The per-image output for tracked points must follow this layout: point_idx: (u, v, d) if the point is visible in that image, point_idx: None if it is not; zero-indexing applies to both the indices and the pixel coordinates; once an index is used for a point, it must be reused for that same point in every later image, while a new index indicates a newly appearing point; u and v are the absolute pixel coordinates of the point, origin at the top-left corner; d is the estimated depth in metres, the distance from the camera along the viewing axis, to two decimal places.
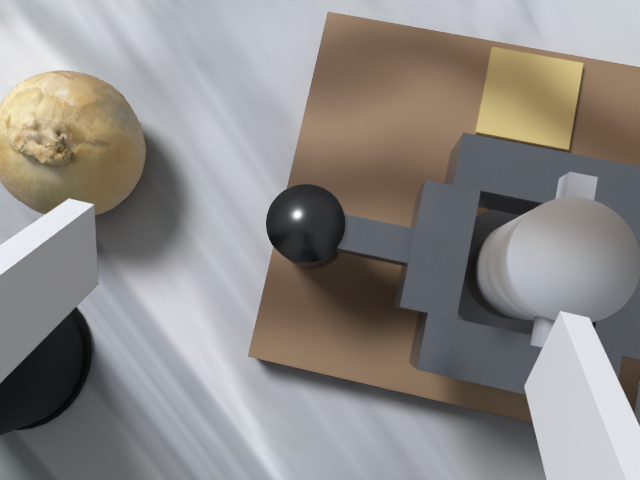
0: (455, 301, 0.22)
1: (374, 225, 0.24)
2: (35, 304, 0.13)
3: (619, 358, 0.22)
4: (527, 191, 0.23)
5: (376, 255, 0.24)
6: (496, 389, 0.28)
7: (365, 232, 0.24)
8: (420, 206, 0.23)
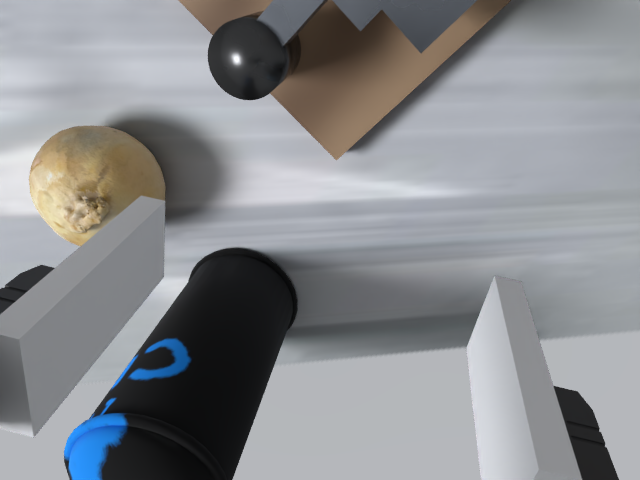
0: None
1: None
2: (119, 294, 0.14)
3: None
4: None
5: (308, 15, 0.23)
6: None
7: (283, 11, 0.23)
8: None
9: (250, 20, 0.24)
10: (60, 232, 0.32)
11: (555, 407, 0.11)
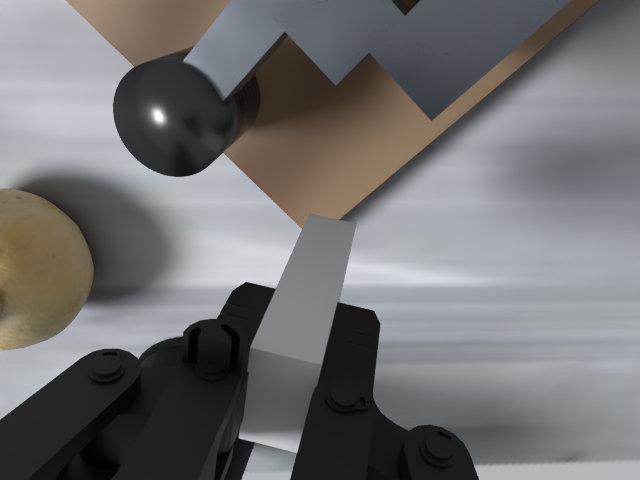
0: None
1: (217, 32, 0.15)
2: None
3: None
4: None
5: (259, 57, 0.15)
6: None
7: (221, 51, 0.15)
8: None
9: (171, 63, 0.16)
10: None
11: (329, 314, 0.12)
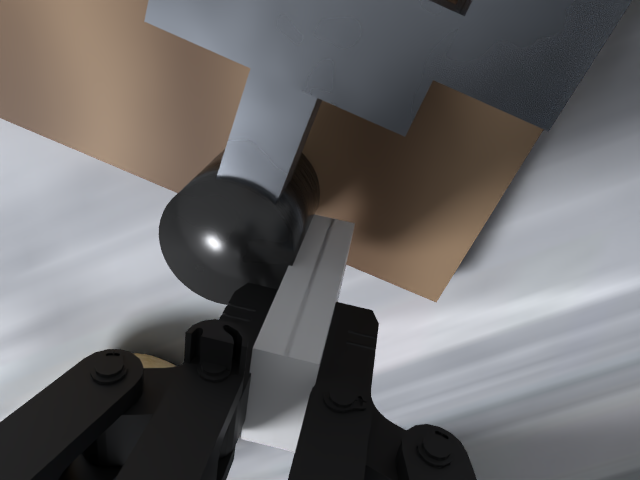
0: (423, 9, 0.10)
1: (242, 129, 0.12)
2: None
3: None
4: None
5: (299, 138, 0.12)
6: None
7: (254, 148, 0.13)
8: (202, 44, 0.11)
9: (206, 184, 0.13)
10: None
11: (327, 314, 0.12)
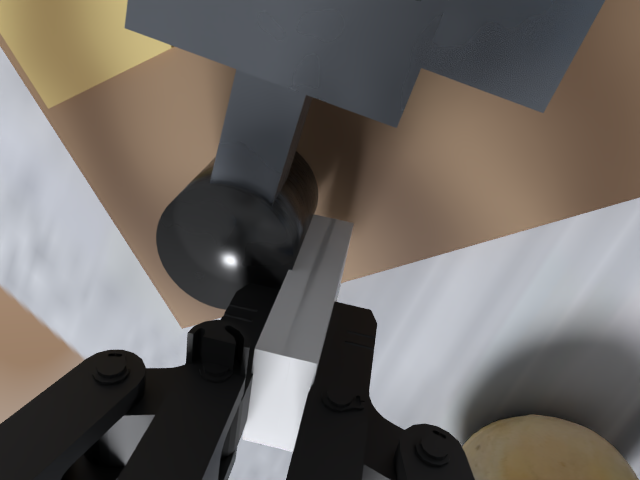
0: None
1: (232, 131, 0.12)
2: None
3: None
4: None
5: (290, 137, 0.12)
6: None
7: (245, 149, 0.12)
8: (184, 47, 0.10)
9: (199, 189, 0.13)
10: None
11: (326, 314, 0.12)
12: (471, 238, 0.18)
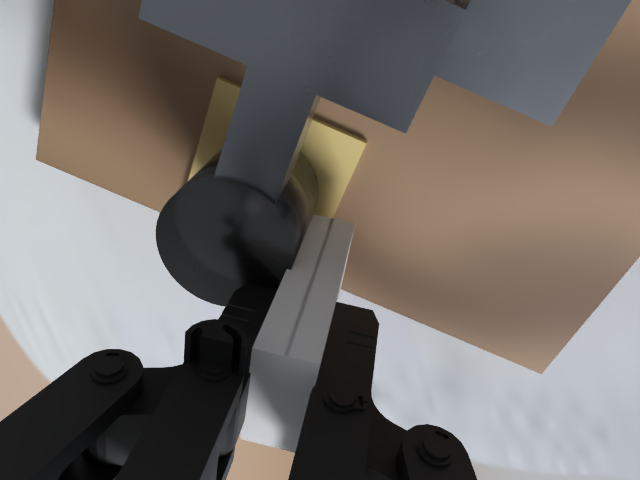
0: (424, 3, 0.09)
1: (239, 128, 0.12)
2: None
3: None
4: None
5: (298, 136, 0.12)
6: None
7: (252, 147, 0.12)
8: (198, 41, 0.10)
9: (203, 184, 0.13)
10: None
11: (328, 314, 0.12)
12: None
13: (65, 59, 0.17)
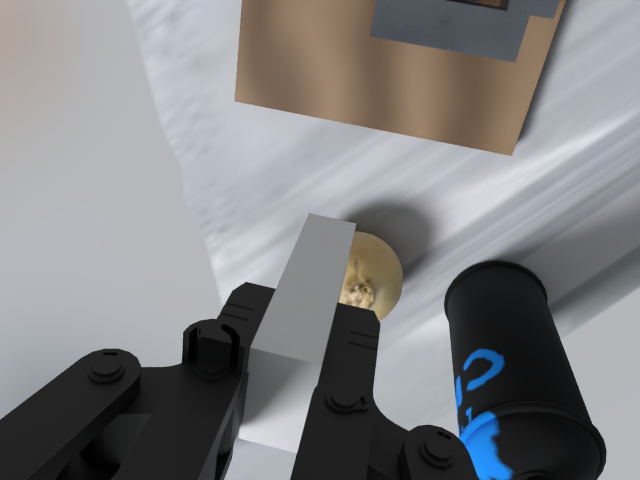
0: None
1: None
2: None
3: (527, 17, 0.28)
4: None
5: None
6: None
7: None
8: None
9: None
10: None
11: (329, 314, 0.12)
12: (398, 129, 0.38)
13: None
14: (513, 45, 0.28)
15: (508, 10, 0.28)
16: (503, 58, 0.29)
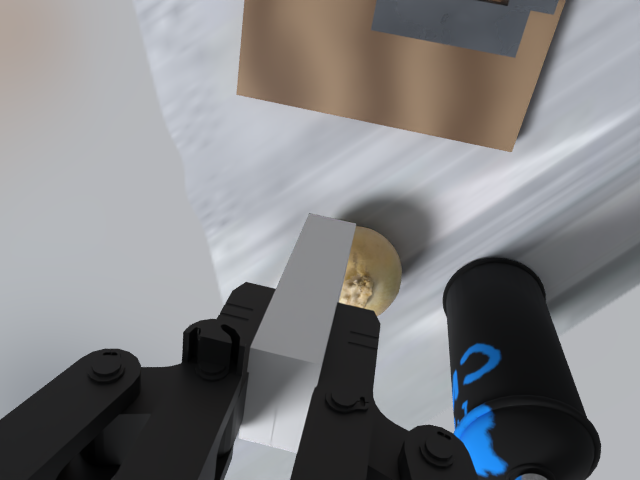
0: None
1: None
2: None
3: (528, 13, 0.28)
4: None
5: None
6: None
7: None
8: None
9: None
10: None
11: (329, 314, 0.12)
12: (398, 124, 0.38)
13: None
14: (513, 40, 0.29)
15: (509, 5, 0.28)
16: (503, 53, 0.29)
